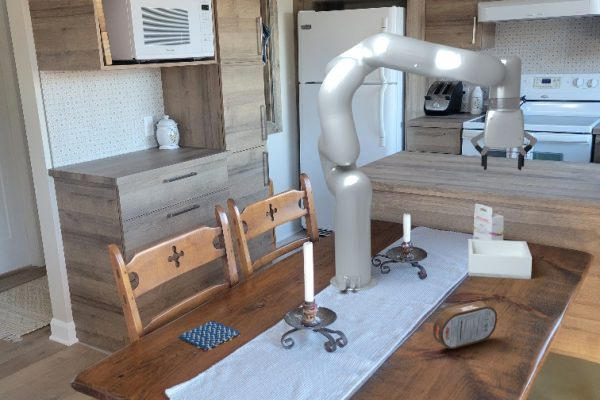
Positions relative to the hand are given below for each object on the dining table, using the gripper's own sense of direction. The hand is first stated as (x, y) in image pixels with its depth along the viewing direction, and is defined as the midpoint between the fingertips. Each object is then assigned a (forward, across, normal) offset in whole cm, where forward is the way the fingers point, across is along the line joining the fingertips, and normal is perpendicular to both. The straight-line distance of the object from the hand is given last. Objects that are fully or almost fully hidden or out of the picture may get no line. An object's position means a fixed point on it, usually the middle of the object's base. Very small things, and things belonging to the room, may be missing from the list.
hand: (502, 169), depth 156 cm
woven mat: (+29, -63, -57) cm, 90 cm away
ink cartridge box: (+29, -2, +16) cm, 33 cm away
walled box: (+28, 0, 0) cm, 28 cm away
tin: (+29, -9, -48) cm, 57 cm away
